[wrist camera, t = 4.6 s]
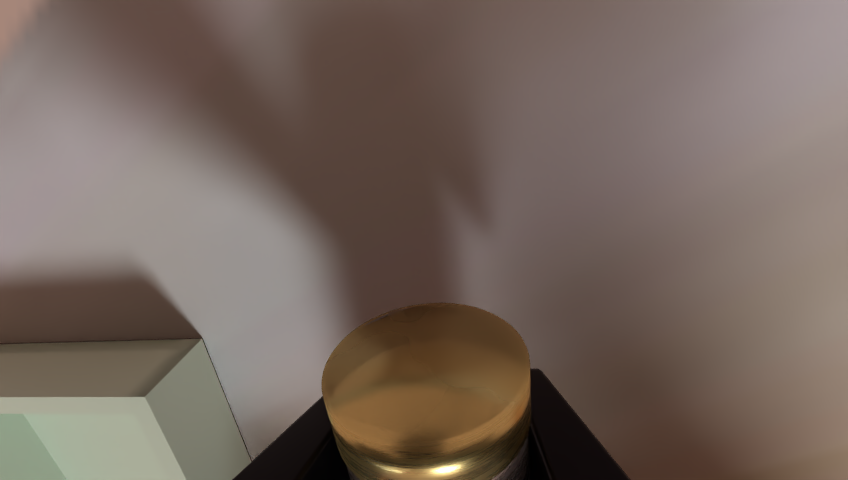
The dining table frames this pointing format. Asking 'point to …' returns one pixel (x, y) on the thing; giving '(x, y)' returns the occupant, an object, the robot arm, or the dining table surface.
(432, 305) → the gold capped cylinder
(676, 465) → the dining table surface
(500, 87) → the dining table surface
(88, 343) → the tray
